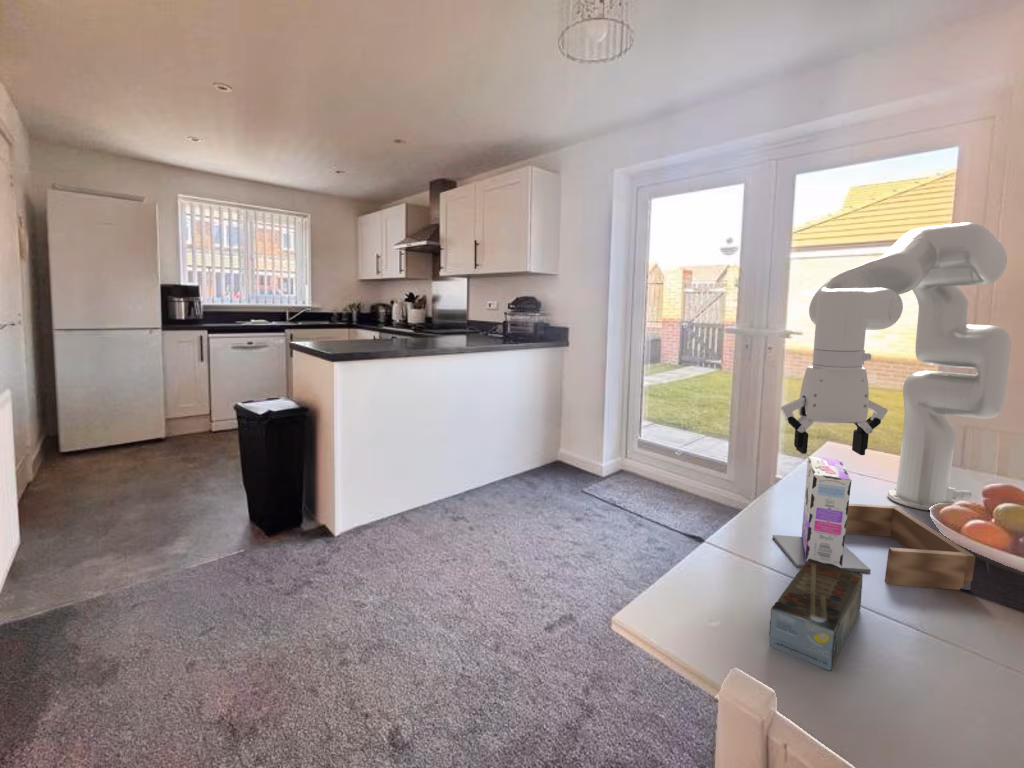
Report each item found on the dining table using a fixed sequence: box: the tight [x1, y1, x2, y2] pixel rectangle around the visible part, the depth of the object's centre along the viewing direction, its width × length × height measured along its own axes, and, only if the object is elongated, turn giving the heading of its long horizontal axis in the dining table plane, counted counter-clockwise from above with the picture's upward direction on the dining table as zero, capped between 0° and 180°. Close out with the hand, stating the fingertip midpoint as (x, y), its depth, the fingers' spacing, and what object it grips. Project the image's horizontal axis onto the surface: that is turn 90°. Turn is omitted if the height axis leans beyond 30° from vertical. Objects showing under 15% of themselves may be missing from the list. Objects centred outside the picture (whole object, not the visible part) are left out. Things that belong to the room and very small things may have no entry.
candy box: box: [801, 456, 852, 568], centre depth 94 cm, size 14×6×16 cm, turn 153°
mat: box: [772, 534, 872, 574], centre depth 95 cm, size 12×12×1 cm
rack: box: [845, 503, 976, 591], centre depth 93 cm, size 12×21×6 cm, turn 171°
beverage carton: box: [768, 559, 864, 672], centre depth 73 cm, size 8×19×7 cm, turn 136°
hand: (829, 452), depth 92 cm, fingers open, 9 cm apart
